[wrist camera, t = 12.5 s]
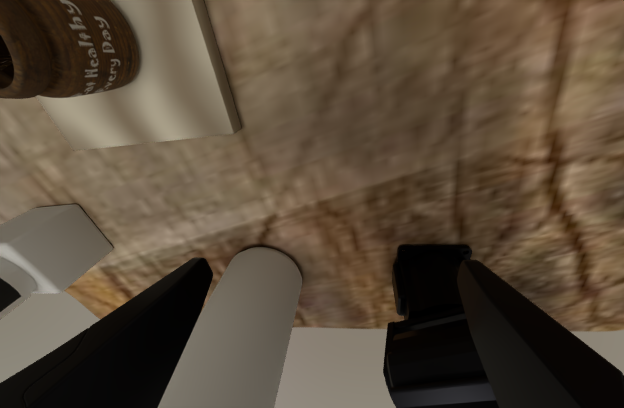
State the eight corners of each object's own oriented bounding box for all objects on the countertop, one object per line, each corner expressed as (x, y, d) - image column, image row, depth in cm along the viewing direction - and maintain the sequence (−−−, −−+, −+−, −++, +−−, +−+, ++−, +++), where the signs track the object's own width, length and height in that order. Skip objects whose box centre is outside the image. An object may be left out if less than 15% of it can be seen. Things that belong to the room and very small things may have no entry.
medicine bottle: (34, 206, 29) (-129, 288, 20) (78, 202, 28) (-75, 289, 18) (74, 249, 33) (-45, 337, 23) (115, 248, 32) (5, 341, 22)
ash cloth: (161, -144, 12) (139, -165, 11) (241, 128, 20) (233, 133, 19) (-47, -63, 16) (-82, -71, 15) (88, 145, 23) (73, 150, 22)
